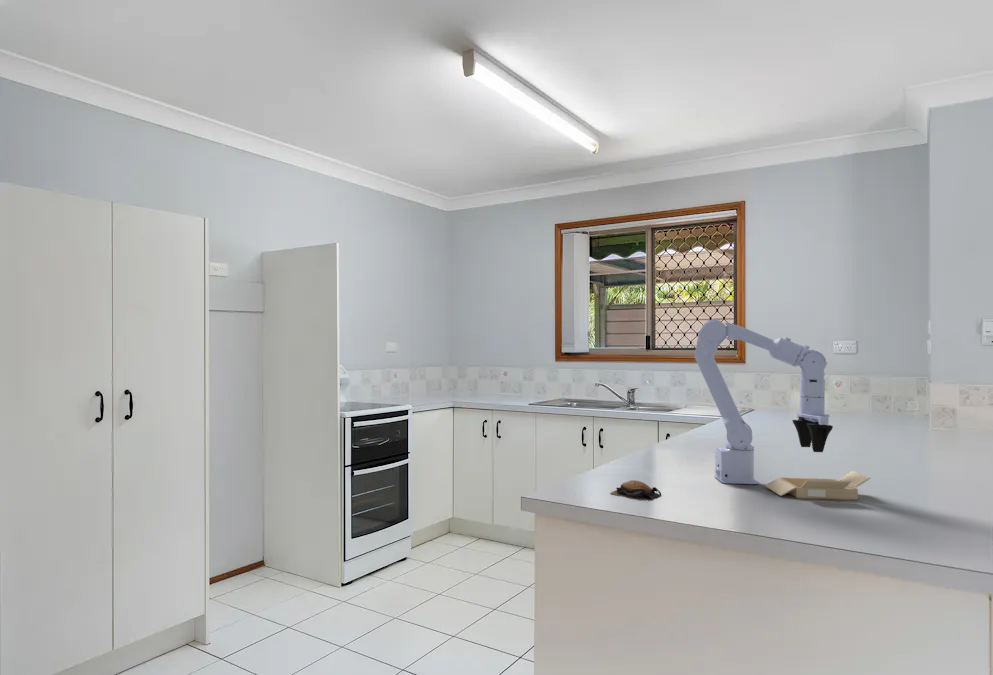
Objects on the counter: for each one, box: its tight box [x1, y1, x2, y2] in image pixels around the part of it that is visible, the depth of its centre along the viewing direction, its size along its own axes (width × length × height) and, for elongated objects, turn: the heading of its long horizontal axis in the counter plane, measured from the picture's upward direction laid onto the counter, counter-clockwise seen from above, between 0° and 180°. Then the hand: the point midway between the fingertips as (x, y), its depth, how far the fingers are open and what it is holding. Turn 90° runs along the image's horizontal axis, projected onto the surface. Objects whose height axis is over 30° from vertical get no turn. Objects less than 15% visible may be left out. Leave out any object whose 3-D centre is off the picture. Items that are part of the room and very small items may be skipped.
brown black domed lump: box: [609, 479, 662, 502], centre depth 148 cm, size 11×9×4 cm
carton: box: [764, 477, 859, 501], centre depth 153 cm, size 18×15×3 cm
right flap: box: [838, 470, 871, 488], centre depth 151 cm, size 4×8×1 cm
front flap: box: [801, 480, 851, 489], centre depth 144 cm, size 10×4×1 cm
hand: (811, 449), depth 158 cm, fingers open, 7 cm apart
